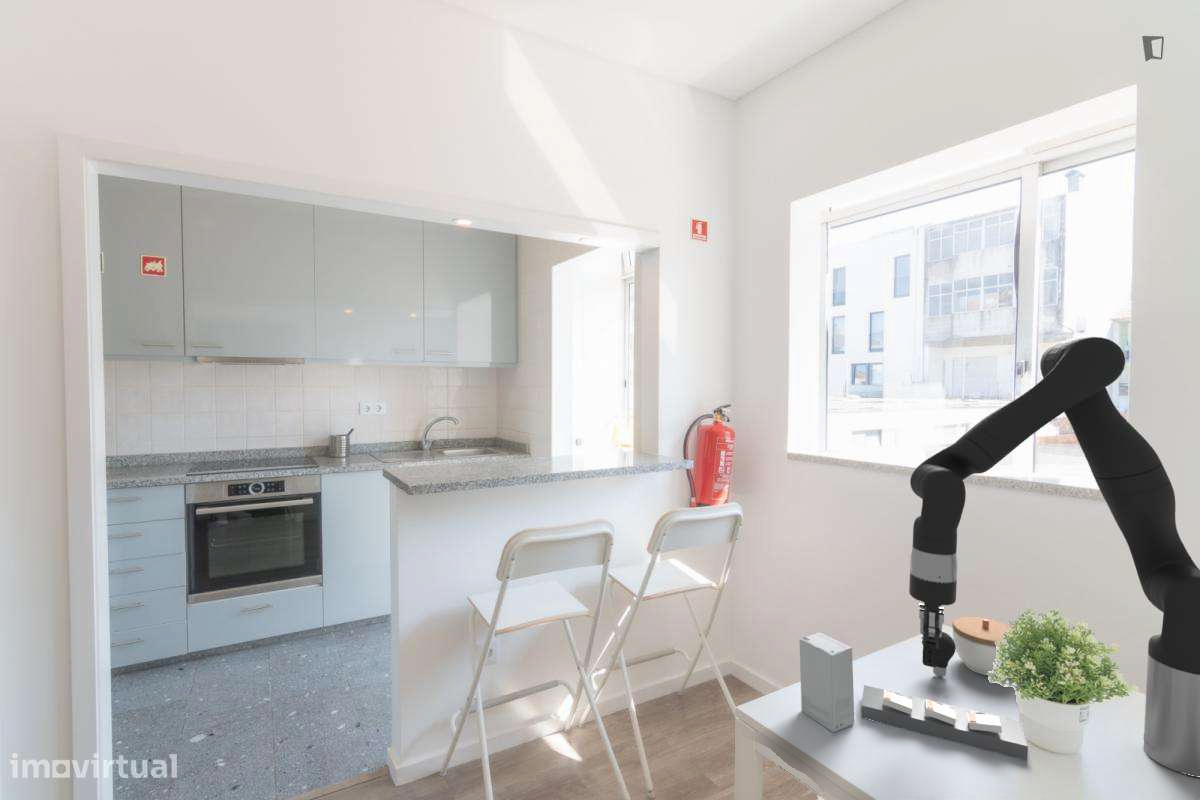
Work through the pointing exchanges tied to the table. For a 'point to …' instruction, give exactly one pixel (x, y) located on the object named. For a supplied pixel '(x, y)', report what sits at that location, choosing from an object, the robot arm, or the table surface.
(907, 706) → the rocker
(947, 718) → the rocker middle
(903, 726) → the power strip
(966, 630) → the lidded bowl
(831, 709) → the skincare box
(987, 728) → the rocker
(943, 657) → the light bulb
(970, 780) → the table surface
